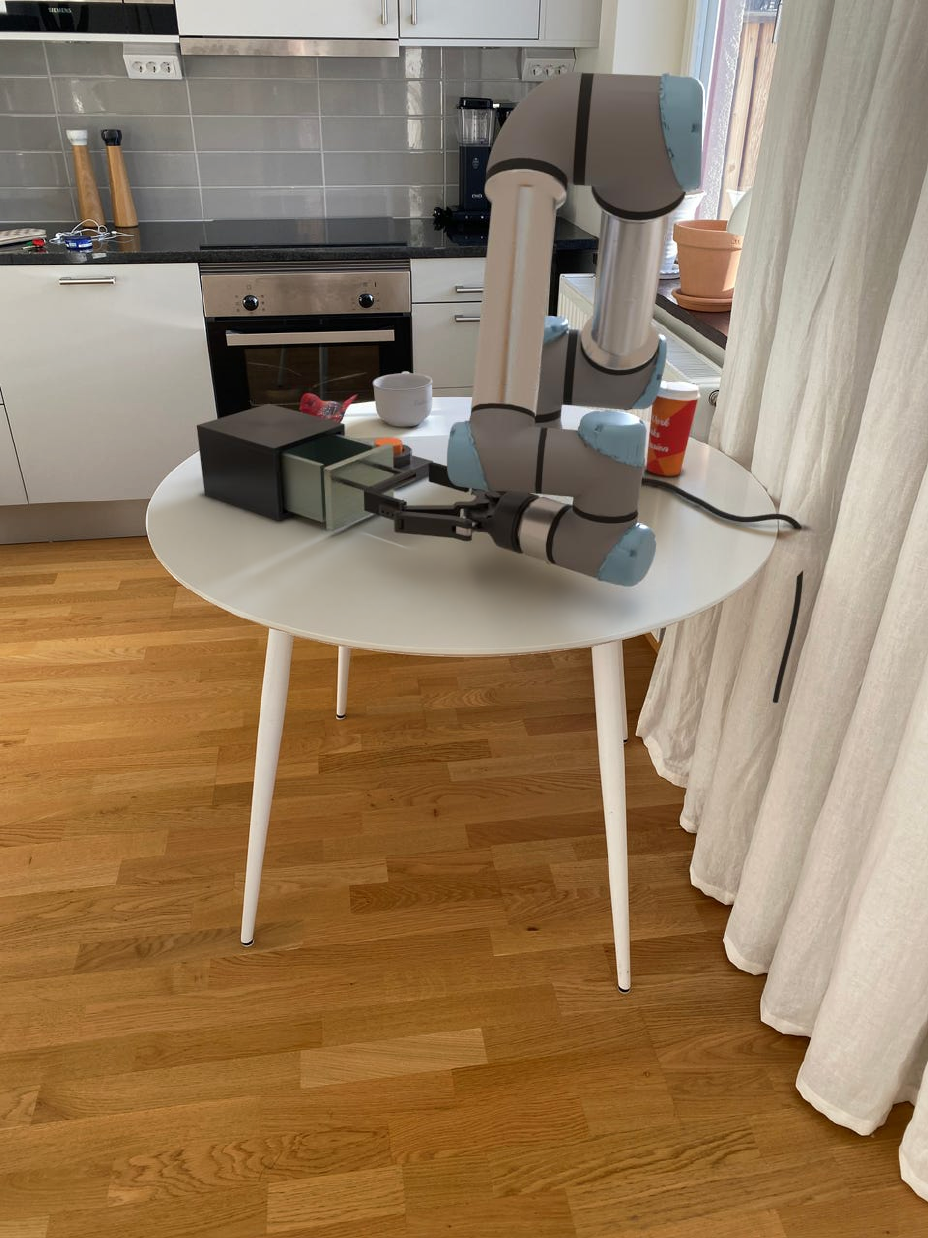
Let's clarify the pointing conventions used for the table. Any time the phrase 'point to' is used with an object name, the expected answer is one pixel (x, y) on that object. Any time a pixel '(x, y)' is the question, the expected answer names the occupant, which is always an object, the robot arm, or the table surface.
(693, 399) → the paper cup
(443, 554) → the table surface
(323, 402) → the decorative bird figurine
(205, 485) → the cabinet
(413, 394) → the teacup
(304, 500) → the drawer
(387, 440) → the button
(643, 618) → the table surface
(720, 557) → the table surface
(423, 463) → the block
